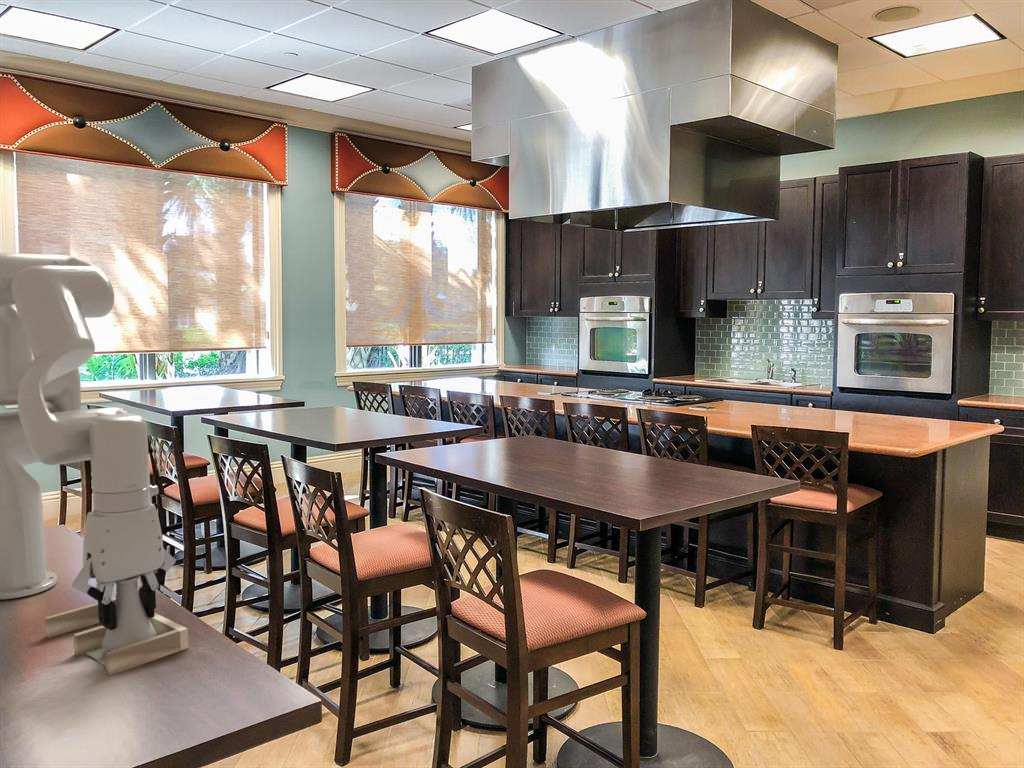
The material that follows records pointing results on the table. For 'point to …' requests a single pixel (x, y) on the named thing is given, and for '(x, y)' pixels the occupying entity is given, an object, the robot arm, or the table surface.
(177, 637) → the comb rack
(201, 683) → the table surface
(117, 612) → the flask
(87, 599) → the table surface
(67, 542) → the table surface
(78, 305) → the robot arm
